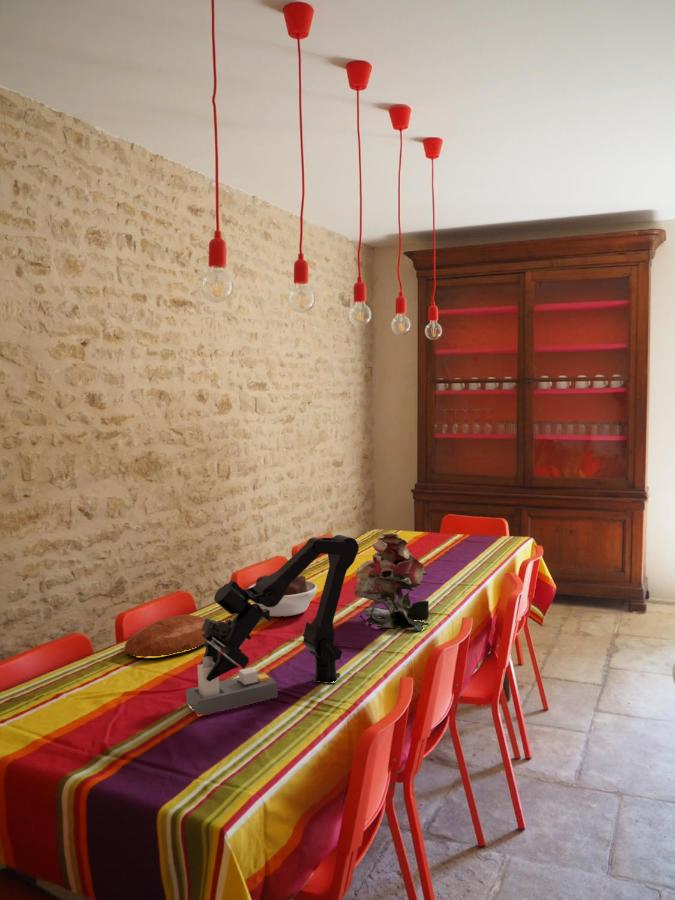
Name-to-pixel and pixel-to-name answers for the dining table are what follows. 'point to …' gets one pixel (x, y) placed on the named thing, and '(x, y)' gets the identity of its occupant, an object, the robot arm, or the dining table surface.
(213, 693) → the plug
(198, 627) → the bread
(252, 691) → the grey boxy piece
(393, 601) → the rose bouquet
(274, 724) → the dining table surface
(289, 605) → the white dessert bowl
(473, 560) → the dining table surface
